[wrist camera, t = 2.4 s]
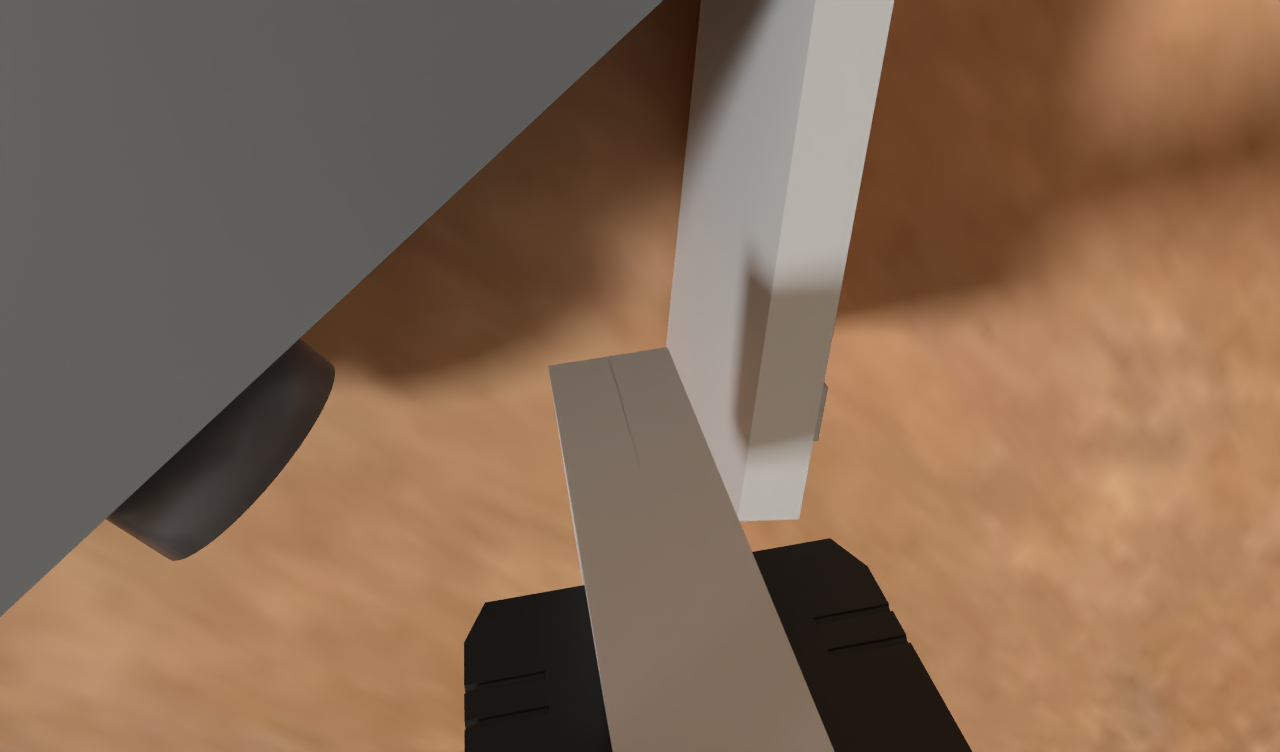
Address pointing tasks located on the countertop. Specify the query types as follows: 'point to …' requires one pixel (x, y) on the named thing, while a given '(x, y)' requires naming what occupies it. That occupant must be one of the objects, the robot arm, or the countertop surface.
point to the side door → (769, 229)
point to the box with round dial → (221, 228)
